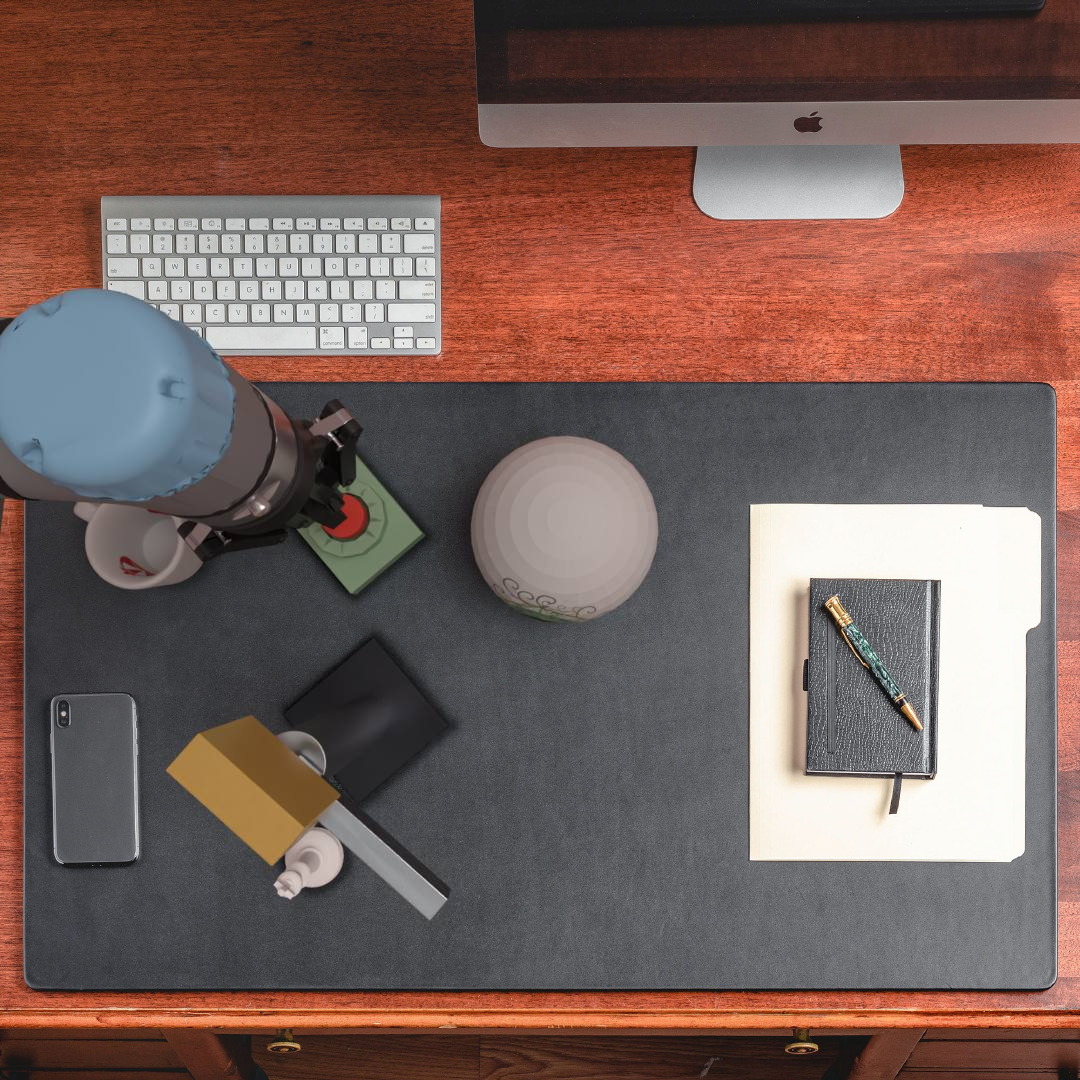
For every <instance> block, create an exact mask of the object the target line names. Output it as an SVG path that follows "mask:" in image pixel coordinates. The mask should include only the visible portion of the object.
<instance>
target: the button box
mask: <svg viewBox="0 0 1080 1080" xmlns="http://www.w3.org/2000/svg"><path fill="white" fill-rule="evenodd" d="M338 489H339V490H340V492H341V493H342V494H346V495H350V496H352V497H354V498H355V499H357V500H358V501H360V502H361V503H362V504H363V506H364V507H365V509H366V512H367V523H366V526H365V528H364V530H363V531H362V532H361V533H360V534H359V535H358V536H356V537H354V538H350V539H341V538H338V537H335V536H333V535H331V534H329V533H328V532H327V531H326V530H325V529H324V528H323V526H322V525H321V524H319V523H317V522H314V523H313V524H312V525H311V526H310V527H308V528H301V529H296V530H297V531H298V533H299V534H300V535H301V536H302V537H303V539H304V540H305V542H307V544H308V545H309V546H310V547H311V548H312V549H313V551H314V552H315V553H316V554H317V555H318V556H319V558H320V559H321V560H322V562H323V563H324V564H325V565H326V566H327V567H328V569H329V570H330V571H331V572H332V573H333V575H335V577H336V578H337V579H338V580H339V581H340V583H341V584H342V585H343V586H344V588H345V589H346V590H347V591H348V592H349V594H350V595H358V594H359V593H360V592H361V591H362V590H364V589H365V588H366V587H367V586H368V585H370V583H372V582H373V581H375V580H376V579H377V577H379V576H380V575H381V574H382V573H383V572H385V571H386V570H387V569H388V568H389V567H391V566H392V565H393V564H394V563H395V562H397V561H398V560H399V559H401V557H402V556H404V555H405V554H406V553H407V552H408V551H410V550H411V549H412V548H413V547H414V546H415V545H417V544H418V543H419V542H420V541H421V540H423V539H424V538H425V537H426V533H424V532H423V530H422V529H421V528H420V527H419V526H418V525H417V524H416V522H415V521H414V520H413V519H412V518H411V516H410V515H409V514H408V513H407V512H406V511H405V510H404V508H403V507H402V506H401V505H400V503H398V502H397V500H396V499H395V498H394V497H393V495H392V494H391V493H390V492H389V491H388V490H387V488H385V486H384V485H383V484H382V483H381V481H380V480H379V479H378V478H377V477H376V476H375V474H374V473H373V472H372V471H371V469H370V468H369V467H368V466H367V465H366V464H365V462H364V461H363V460H362V459H361V457H360V456H358V454H357V453H356V479H355V480H354V482H353V483H352V484H351V485H350V486H347V487H345V488H343V487H342V486H341V485H340V486H339V487H338Z"/></svg>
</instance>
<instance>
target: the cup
mask: <svg viewBox="0 0 1080 1080" xmlns="http://www.w3.org/2000/svg"><path fill="white" fill-rule="evenodd" d="M73 513H74V514H75V515H76V516H77V517H78V518H80V519H82V520H83V521H85V522H87V525H86V529H85V534H84V535H85V536H84V546H85V552H86V557H87V560H88V561H89V564H90V566H91V567H92V569H93V570H94V571H95V573H96V574H97V575H98V576H99V577H100V578H101V579H103V580H104V581H106V582H107V583H109V584H111V585H112V586H115V587H118V588H120V589H125V590H142V589H143V590H145V589H151V588H157V587H162V586H169V585H174V584H179V583H181V582H184V581H187V580H188V579H190V578H191V577H192V576H194V575H195V574H196V573H197V572H198V571H199V569H200V568H201V567H202V566H203V565H204V562H202V561H201V560H200V559H199V558H198V557H197V555H196V554H195V553H194V552H193V550H192V549H191V548H190V547H189V546H188V544H187V543H186V542H185V541H184V540H183V538H182V537H181V536H180V535H179V534H178V532H177V529H178V528H179V526H180V525H181V524H182V523H183V522H185V521H188V520H186V519H182V518H178V517H175V516H172V515H169V514H166V513H163V512H159V511H154V510H150V509H145V508H140V507H134V506H126V505H117V504H104V503H88V502H75V505H74V507H73Z"/></svg>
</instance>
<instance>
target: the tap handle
mask: <svg viewBox="0 0 1080 1080" xmlns="http://www.w3.org/2000/svg"><path fill="white" fill-rule="evenodd" d="M165 771H166V772H167V774H168V775H170V776H171V777H172V778H173V779H174V780H175V781H177V782H178V784H180V786H182V787H183V788H184V789H185V790H186V791H188V793H190V794H191V795H192V796H193V797H194V798H195V799H196V800H197V801H198V802H200V803H201V804H202V805H203V806H204V807H205V808H206V809H207V810H209V811H210V812H211V813H212V814H213V815H214V816H215V817H216V818H217V819H218V820H219V821H221V822H222V823H223V824H224V825H225V826H226V827H227V828H229V829H230V830H231V831H232V832H233V833H234V834H235V835H236V836H238V838H240V839H241V840H242V841H243V842H244V843H245V844H246V845H248V847H249V848H251V850H253V851H254V852H255V853H256V854H257V855H258V856H259V857H261V858H262V859H263V860H264V861H265V862H266V863H267V864H268V865H269V866H271V867H272V866H274V865H276V864H277V862H279V860H280V859H282V858H283V857H285V854H286V853H287V852H288V851H289V850H290V849H291V848H292V847H293V846H294V845H295V844H296V843H297V842H298V841H300V840H301V839H302V838H303V837H304V836H305V835H306V834H307V833H308V832H309V831H310V830H311V829H312V828H313V827H316V825H317V824H318V823H319V824H320V825H321V826H322V827H323V828H324V829H326V830H328V831H330V832H331V833H332V834H333V835H334V836H335V837H336V838H337V839H338V840H339V841H340V843H341V844H343V845H344V846H345V847H346V848H347V849H348V850H349V851H351V852H352V853H353V854H354V855H355V856H356V857H357V858H358V859H359V860H360V861H362V862H363V863H364V864H365V865H366V866H367V867H369V868H370V869H371V870H372V871H373V873H375V874H376V875H377V876H379V878H381V879H382V880H383V881H384V882H385V883H386V884H387V885H389V886H390V887H391V888H392V889H393V890H394V891H395V892H396V893H397V894H399V895H400V896H401V897H402V898H403V899H404V900H405V901H406V902H408V903H409V904H410V905H411V906H412V907H413V908H414V909H415V910H416V911H418V912H419V914H421V915H422V916H423V917H424V918H425V919H426V920H428V921H429V922H431V921H432V920H433V919H434V918H435V916H436V915H437V914H438V913H439V912H440V911H441V909H442V908H443V907H444V906H445V905H446V904H447V902H448V901H449V898H450V895H451V891H452V888H451V887H450V886H449V885H448V884H447V883H445V882H444V881H443V879H441V878H439V876H438V875H436V873H434V872H433V871H432V870H431V869H429V867H427V866H426V865H425V864H424V863H423V862H422V861H420V860H419V859H418V857H416V856H415V855H414V854H413V853H412V852H410V851H409V849H407V848H406V847H405V846H404V845H403V844H402V843H400V842H399V841H398V839H396V838H395V837H394V836H393V835H391V834H390V833H389V831H387V830H386V829H385V828H383V826H382V825H381V824H379V823H378V822H377V821H375V820H374V819H373V818H372V816H370V815H369V814H368V813H367V812H366V811H364V809H362V808H361V807H360V806H359V804H357V803H356V802H355V801H353V800H352V799H351V798H350V797H349V796H348V795H346V794H345V793H344V792H343V791H342V790H341V789H340V788H338V786H336V785H335V784H334V783H333V782H332V781H331V780H330V779H327V778H326V777H325V776H324V775H323V774H322V773H321V772H319V771H318V770H317V769H316V768H315V767H314V766H313V765H312V764H311V763H309V762H308V761H307V760H306V759H305V758H304V757H303V756H302V755H300V756H297V755H296V754H295V753H294V752H292V751H291V750H290V749H289V748H288V747H287V746H286V745H285V744H283V743H282V742H281V741H280V740H279V739H278V738H277V737H276V735H275V734H273V732H271V731H270V730H269V729H268V728H267V727H266V726H265V725H263V724H262V723H261V722H260V721H259V720H258V719H257V718H255V717H254V716H253V715H252V714H249V715H246V716H244V717H240V718H238V719H235V720H232V721H229V722H226V723H224V724H223V723H222V724H221V725H217V726H213V727H212V728H209V729H206V730H203V731H200V732H198V733H196V734H195V736H194V737H193V738H192V739H191V740H190V741H189V743H188V744H187V745H186V746H185V747H184V748H183V749H182V751H181V752H180V753H179V754H178V755H177V756H176V757H175V758H174V760H173V761H172V762H171V763H170V764H169V765H168V766H167V768H166V769H165Z"/></svg>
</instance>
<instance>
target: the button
mask: <svg viewBox="0 0 1080 1080" xmlns="http://www.w3.org/2000/svg"><path fill="white" fill-rule="evenodd" d="M343 495H344V496H343V498H342V499H343V500H344V501H345V505H344V506H343V507H342V508H341V510H342V511H343V512H344V514H345V515H346V516H347V517H348V518H347V519H346V520H345V521H344V522H342V523H341V524H340V525H339V526H338V527H336V528H335V529H334V530H333V529H330V528H328V527H326V526H324V525H322V526H323V528H324V529H325V530H326V531H327V532H328V533H329V534H331V535H333V536H335V537H338V538H341V539H350V538H354V537H356V536H358V535H359V534H360V533H361V532H362V531H363V530H364V528H365V526H366V523H367V512H366V509H365V507H364V506H363V504H362V503H361V502H360V501H358V500H357V499H355V498H354V497H352V496H350V495H346V494H343Z"/></svg>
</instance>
